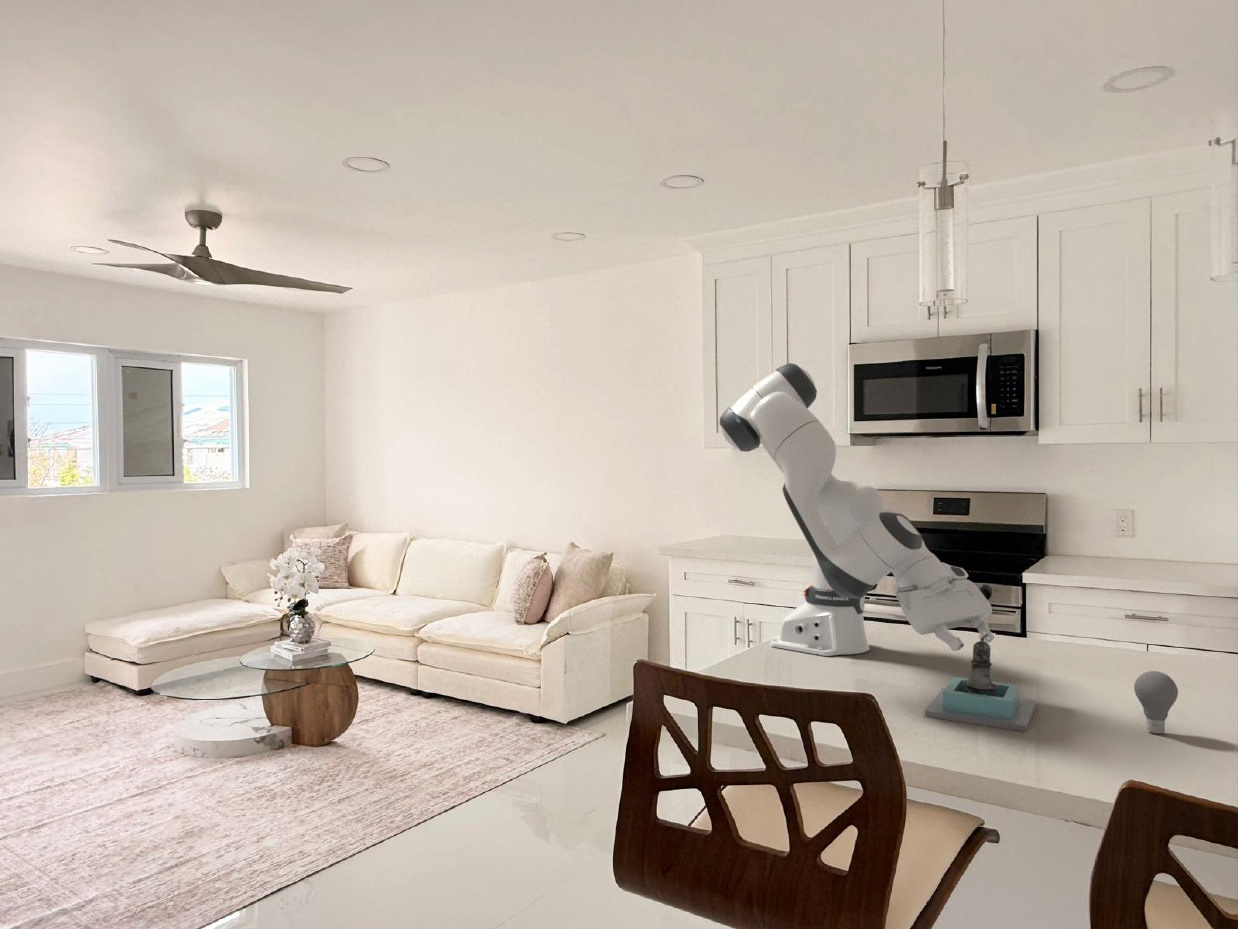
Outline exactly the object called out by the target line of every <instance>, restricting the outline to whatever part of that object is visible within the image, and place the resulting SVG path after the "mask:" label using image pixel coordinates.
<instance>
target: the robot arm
mask: <svg viewBox="0 0 1238 929" xmlns="http://www.w3.org/2000/svg"><path fill="white" fill-rule="evenodd" d="M775 370H776V371H774V372H772V373H771V374H769V375H767V376H766V377H764V378H763V379H761V380H760V381H758V382H757V383H755V384H754V385H752V387H751V388H750V389H749V390H747V391H746V392H745V393H744V394H743V395H741V397H740V398H738V400H737V401H735V403H734V404H733V405H731V407H727V409H726V410H725V411H723V413H722V414H721V415H720V417H719V426H720V429H721V433H722V435H723V437H724V439H725V441H726V442H728V444H729V445H730V446H732V447H733V448H735V449H737V450H739V451H740V452H750V451H753V450H755V449H758V448H760V445H762V447H763V448H764V449H765V451H766V452H767V454H768V455H769V457H770V458H771V459H772V461H774V463H775V465H777V467H778V469H779V470H780V471H781V473H783V477H784V483H783V486H782V492H783V493H782V494H783V496H784V499H785V502H786V503H787V505H788V508H789V510H790V512H791V514H792V516H793V518H794V519H795V521H796V523H797V525H798V527H799V528H800V530H801V532H802V534H803V537H804V538H805V540H806V542H807V544H808V545H809V547H810V549H811V551H812V552H813V555H812V584H811V585H809V586H808V587H807V588H806V589H805V590H804V591H803V596H804V599H805V601H804V602H803V603H801V604H800V605H798V606H797V607H796V608H795V609H793V610H792V611H790V613H788V614H786V615H785V616H784V617H783V619H782V622H781V625H780V630H779V634H777V635H775V636H773V637H772V638H771V639H770V643H769V645H770V646H771V647H773V648H778V649H779V648H780V649H784V650H785V649H786V650H789V651H796V652H802V653H808V654H812V655H817V654H818V655H819V656H825V657H832V656H838V655H842V656H843V655H856V654H857V655H858V654H862V653H866V652H868V651H870V646H869V643H868V638H867V635H866V628H865V620H864V612H865V597H866V595H867V594H868V593H869V592H870V591H871V590H873V589H874V587H875V586H876V584H878V583H880V581H882V580H883V579H884V578H885V577H886V576H888V575H889V574H890V573H892V575H893V577H894V580H895V582H896V584H897V585H898V586H899V587H898V588H897V590H896V593H895V594H896V599H897V600H898V602H899V605H900V608H901V611H902V613H903V614H904V616H905V617H906V620H907V621H908V623H909V624H910V626H911V627H912V629H913V630H914V631H915V632H916V633H918V634H919V635H921V636H924V635H928V634H932V633H933V634H934V635H935V637H936V638H938V639H939V640H941V641H942V642H943V643H945V644H946V645H948V646H949V648H950V649H951V651H953V652H955V651H960V650H961V649H962V648H964V646H965V645H964V642H963V641H962V639H961V638H960V637H959V636H955V635H954V634H953V633H951V632H950V631H949V630H950V629H955V628H960V627H964V626H968V625H971V626H973V627H974V628H975V629H977V631H978V634H979V635H978V636H977V637H978V638H979V639H980V640H981V637H983V638H984V642H985V643H987V644H989V643H991V642H992V641H993V640H994V639H995V635H994V634H993V633H992V631H991V630H990V628H989V624H988V623H989V622H988V620H987V618H988V617H989V616H991V614H992V613H993V608H992V605H991V603H990V601H989V600H988V599H987V598H986V596H985V594H984V593H983V592H982V591H981V590H980V589H979V588H978V586H976V584H975V583H974V582H973V581H971V580H969V579H967V578H968V577H969V574H968V573H967V571H966V570H965V569H964V568H963V567H958V566H954V565H950V564H948V563H945V562H943V561H942V562H941V560H940V559H939V558H938V557H937V555H935V554H934V553H932V552H931V551H930V550H929V549H928V548H927V546H926V544H925V541H924V540H923V536H922V534H921V532H920V531H919V530H918V529H917V528H916V526H915V525H914V524H913V522H912V521H911V520H910V519H909V518H908V517H907V516H905V515H904V514H902V513H899V512H897V511H895V510H894V509H891V508H890V509H889V508H885V502H884V501H885V500H884V498H883V495H882V494H881V492H880V491H879V490H878V489H877V488H875V487H874V486H871V485H868V484H866V483H863V482H861V481H855V480H854V481H850V480H840V479H838V478H837V477H836V476H834V475H833V474H832V471H833V469H834V466H835V462H836V460H837V459H836V458H837V448H836V447H837V446H836V442H835V441H834V438H833V436H832V435H831V434H830V433H829V431H828V430H827V429H826V428H825V426H824V425H823V423H821V421H820V420H819V419H818V418H817V417H816V416H815V415H814V413H812V412H811V411H810V410H809V407H810V406H811V405H812V404H813V403H814V401H816V399H817V393H818V390H817V388H816V384H815V381H814V379H813V377H812V376H811V375H810V373H809V372H808V371H807V370H805V369H804V368H803V367H800V366H799V365H797V364H796V363H791V362H789V363H786V364H783V365H781V366H779V367H778V368H776V369H775Z"/></svg>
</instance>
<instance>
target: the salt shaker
mask: <svg viewBox="0 0 1238 929" xmlns="http://www.w3.org/2000/svg"><path fill="white" fill-rule="evenodd" d="M991 649H992V648H991V646H990V644H989V643H985V642H984V638H983V637H981V639H980V640H979V641H976V642H975V643H973V649H972V660H970V662H969V663H971V673H970V677H969V678H967V679H968V680H964V681H962V684H963V685H964V690H965V693H972V694H980V695H987V696H994V695H995V693H996V689H998V686H997V685H995V684H993V683H992V682H993V681H992V680H991V674H990V673H991V667H992V666H993V663H992V662H991Z"/></svg>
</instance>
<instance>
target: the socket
mask: <svg viewBox="0 0 1238 929" xmlns="http://www.w3.org/2000/svg"><path fill="white" fill-rule="evenodd" d="M968 679H969V678H965V677H955V676H954V677H953V678H952V680H951V681H950V682H948V684H947V686H945V687H942V688H941V689H940V691H939V692H937V694H936V696H935V697H934V698H933V700H932V701H931V702H930V703H929V705H928V706H927V707H926V708H925V710H924V717H928V718H933V719H941V720H946V721H952V722H954V721H955V722H959V723H966V724H971V725H972V724H973V725H978V726H980V725H981V726H984V727H985V726H986V727H992V728H999V729H1005V730H1013V731H1020V732H1025V733H1026V732H1028V730H1029V728H1030V724H1031V722H1032V719H1033V716H1034V713H1035V711H1036V708H1037V700H1035V699H1026V698H1020V685H1019V684H1010V683H1002V682H995V681H991V682H992V683H993V684H995V685H997V686H998V689H996V693H995V695H994V696H987V695H980V694H972V693H965V690H964V685H963V684H962V681H964V680H968Z"/></svg>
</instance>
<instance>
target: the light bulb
mask: <svg viewBox="0 0 1238 929" xmlns="http://www.w3.org/2000/svg"><path fill="white" fill-rule="evenodd" d="M1133 687H1134V693H1135V696H1136V698H1137V699H1138V701H1139V702H1140V704H1141V706H1142V708H1143V714H1144V716H1145V719H1146V720H1145V721H1146V730H1147V731H1149V732H1151V734H1157V735H1160V734H1162V733H1165V732H1166V730H1165V729H1166V727H1165V726H1166V725H1165V724H1166V719H1167V718H1168V715H1169V711H1170V709H1171V708H1172V706H1174V705H1175V702H1176V701H1177V699H1178V695H1179V689H1178V687H1177V684H1176V683H1175V681H1174V679H1173V678H1171V677H1170V676H1169V675H1168V674H1166V673H1164V672H1162V671H1158V670H1149V671H1145V672H1143V673H1141V674H1139V676H1138V677H1137V678H1136V680H1135V682H1134V686H1133Z"/></svg>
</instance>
